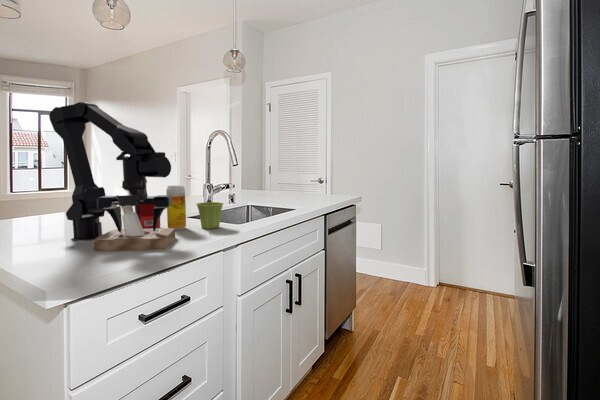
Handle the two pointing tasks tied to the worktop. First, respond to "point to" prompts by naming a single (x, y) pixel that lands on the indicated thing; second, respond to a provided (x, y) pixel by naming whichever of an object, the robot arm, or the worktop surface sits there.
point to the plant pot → (210, 214)
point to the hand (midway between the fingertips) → (137, 231)
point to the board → (134, 240)
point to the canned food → (146, 214)
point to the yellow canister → (176, 208)
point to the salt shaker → (131, 222)
